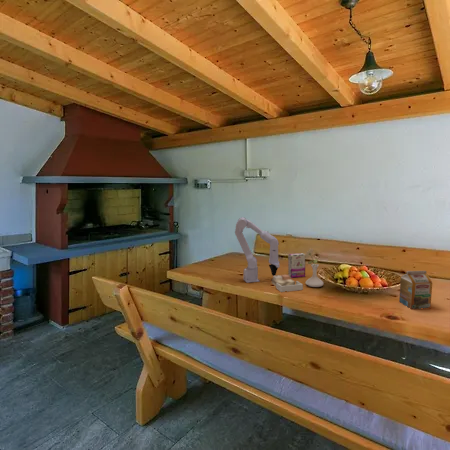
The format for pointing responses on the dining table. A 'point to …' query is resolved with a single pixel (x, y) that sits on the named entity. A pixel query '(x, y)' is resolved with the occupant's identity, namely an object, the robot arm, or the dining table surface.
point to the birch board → (283, 282)
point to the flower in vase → (314, 280)
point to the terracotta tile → (285, 277)
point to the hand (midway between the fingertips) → (273, 275)
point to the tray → (290, 287)
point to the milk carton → (416, 290)
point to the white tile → (277, 277)
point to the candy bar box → (296, 265)
